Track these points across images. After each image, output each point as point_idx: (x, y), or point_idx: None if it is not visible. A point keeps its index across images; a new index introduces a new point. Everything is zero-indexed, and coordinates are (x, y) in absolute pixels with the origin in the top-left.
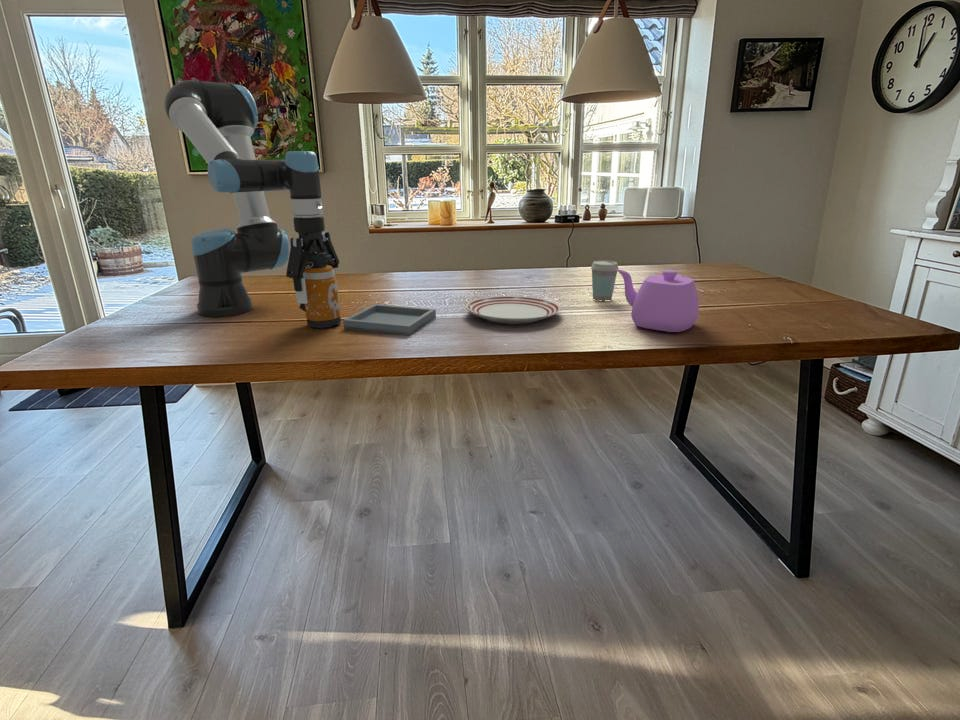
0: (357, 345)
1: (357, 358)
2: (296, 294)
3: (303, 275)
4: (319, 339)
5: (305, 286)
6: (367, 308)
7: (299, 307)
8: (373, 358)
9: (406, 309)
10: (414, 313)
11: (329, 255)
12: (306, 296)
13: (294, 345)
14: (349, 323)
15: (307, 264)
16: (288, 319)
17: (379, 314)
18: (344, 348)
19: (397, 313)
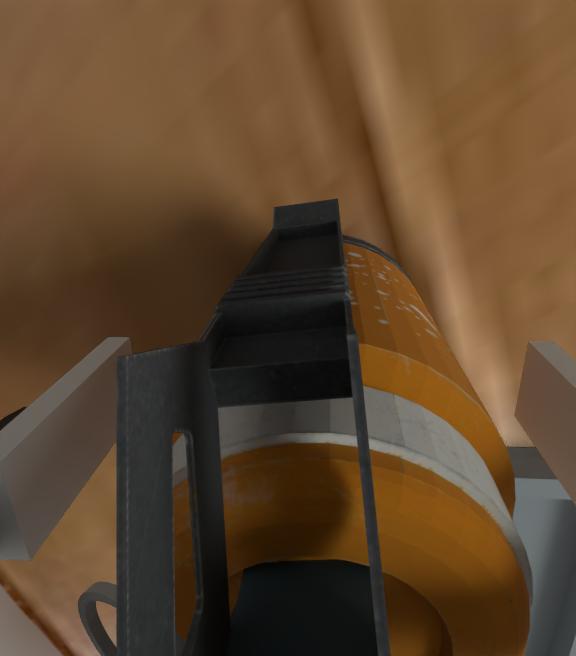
0: None
1: (42, 604)
2: (74, 372)
3: (179, 447)
4: None
5: (76, 493)
6: (538, 484)
7: (274, 211)
8: (67, 637)
9: (572, 624)
10: (556, 636)
11: None
12: (114, 436)
13: (18, 367)
14: None
15: (220, 601)
16: (364, 16)
17: (527, 512)
18: (92, 541)
19: (559, 572)
